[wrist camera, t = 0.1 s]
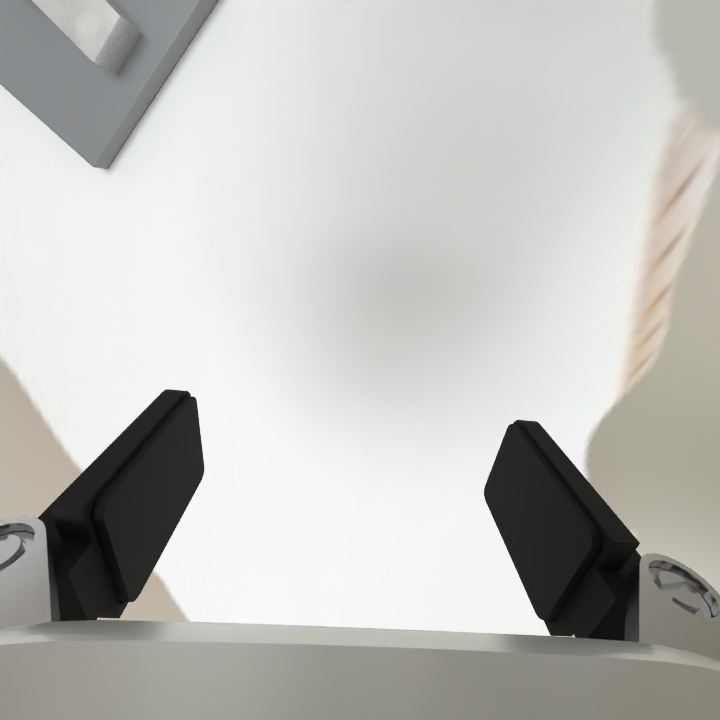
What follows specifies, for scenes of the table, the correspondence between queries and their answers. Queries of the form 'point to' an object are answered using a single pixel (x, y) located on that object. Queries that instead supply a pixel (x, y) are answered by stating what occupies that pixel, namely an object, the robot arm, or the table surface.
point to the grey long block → (95, 29)
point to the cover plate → (93, 71)
